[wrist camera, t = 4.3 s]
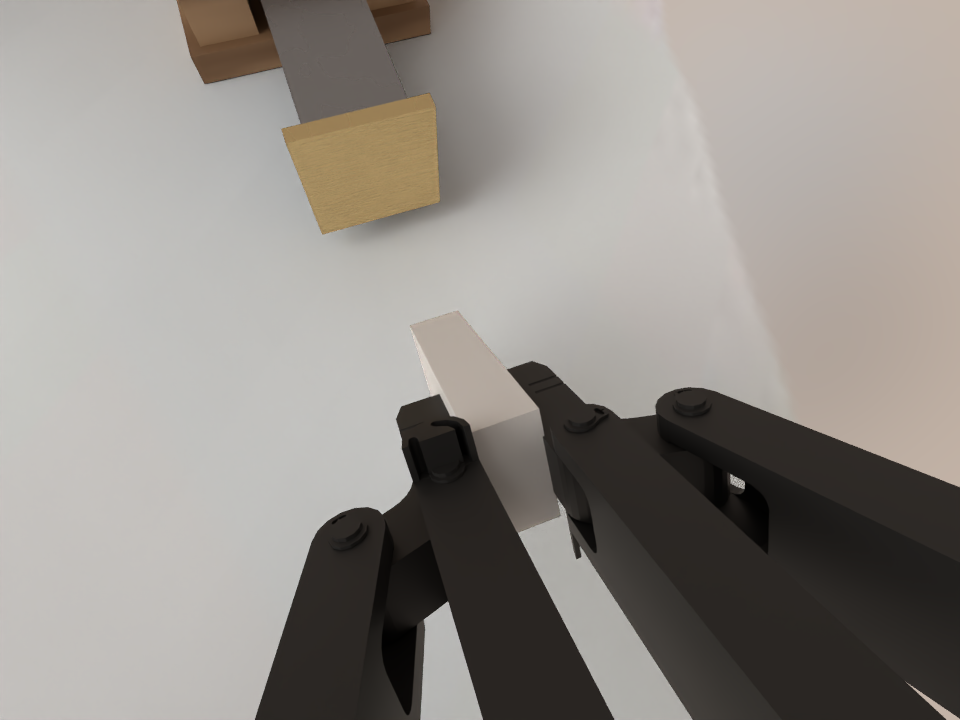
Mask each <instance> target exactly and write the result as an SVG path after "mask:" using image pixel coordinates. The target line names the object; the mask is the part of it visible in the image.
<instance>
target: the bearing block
mask: <svg viewBox="0 0 960 720" xmlns="http://www.w3.org/2000/svg"><path fill="white" fill-rule="evenodd" d="M366 1H367V4H368V6H369V8H370V11H371V13H372V15H373V18H374V20H375V23H376V25H377V27H378V30H379V32H380V34H381V37H382V39H383V42H384V44H386V43H390V42H394V41H399V40H403V39H408V38H412V37H417V36H421V35H426V34H430V33H431V29H430V8H429V4H428V2H427V0H366ZM177 3H178V7H179V11H180V15H181V20H182V24H183V28H184V32H185V36H186V40H187V44H188V48H189V52H190V56H191V58H192V60H193V62H194V64H195V66H196V68H197V70H198V72H199V74H200V76H201V78H202V80H203V82H204V83H205V84H206V83H211V82H215V81H220V80H224V79H229V78H233V77H238V76H242V75H247V74H251V73H256V72H260V71H265V70H269V69H274V68H278V67H282V64H281V61H280V58H279V55H278V52H277V49H276V46H275V43H274V40H273V37H272V33H271V30H270V27H269V24H268V21H267V18H266V15H265V12H264V9H263V6H262V3H261V0H177Z"/></svg>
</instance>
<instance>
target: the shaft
mask: <svg viewBox="0 0 960 720" xmlns="http://www.w3.org/2000/svg"><path fill="white" fill-rule="evenodd" d="M261 3H262V6H263V9H264V12H265V15H266V18H267V21H268V24H269V27H270V30H271V33H272V37H273V40H274V43H275V46H276V49H277V52H278V55H279V58H280V61H281V64H282V67H283V70H284V73H285V76H286V80H287V83H288V86H289V89H290V92H291V95H292V98H293V101H294V104H295V107H296V110H297V113H298V116H299V120H300V123H301V124H299V125H295V126H291V127H287V128H283V129H282V133H283V136H284V139H285V142H286V145H287V148H288V150H289V153H290V155H291V158H292V160H293V163H294V165H295V167H296V170H297V172H298V175H299V177H300V180H301V182H302V185H303V187H304V190H305V192H306V195H307V197H308V200H309V202H310V205H311V207H312V210H313V212H314V215H315V217H316V220H317V222H318V225H319V227H320V230H321V232H322V234H326V233H330V232H333V231H337V230H341V229H344V228H348V227H351V226H355V225H359V224H362V223H366V222H369V221H373V220H377V219H380V218H384V217H387V216H391V215H395V214H398V213H402V212H405V211H409V210H413V209H416V208H420V207H423V206H427V205H431V204H434V203H438V202H440V194H439V172H438V149H437V127H436V106H435V104H434V102H433V99H432V97H431V95H430V93H427V94H423V95H419V96H415V97H411V98H407V96H406V94H405V91H404V89H403V87H402V84H401V82H400V80H399V77H398V75H397V72H396V70H395V68H394V65H393V63H392V61H391V58H390V56H389V53H388V51H387V49H386V46H385V44H384V42H383V39H382V37H381V34H380V32H379V30H378V27H377V25H376V23H375V20H374V18H373V15H372V13H371V11H370V8H369V6H368V4H367V1H366V0H261Z"/></svg>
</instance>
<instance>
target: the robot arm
mask: <svg viewBox="0 0 960 720" xmlns="http://www.w3.org/2000/svg"><path fill="white" fill-rule="evenodd" d="M410 328H411V331H412V335H413V338H414V341H415V345H416V348H417V351H418V355H419V358H420V361H421V365H422V368H423V371H424V375H425V378H426V381H427V385H428V388H429V391H430V395H431V397H428V398H425V399H422V400H419V401H417V402H414V403H411V404H408V405H405V406H402V407H401V409H400V411H399V413H398V416H397V418H396V420H397V424H398V427H399V431H400V434H401V437H402V451H403V454H404V457H405V459H406V462H407V465H408V468H409V471H410V474H411V477H412V480H413V483H412V487H411V489H410V491H409V492H408V494H407V496H406V497H405V498H404V499H403V500H402V501H401V502H400V503H398V504H397V505H396V506H394V507H393V508H392V509H390V510H389V511H387V512H385V513H384V514H381V513H380V512H379V511H378V510H375V509H372V508H368V507H365V508H354V509H351V510H348V511H345V512H342V513H340V514H338V515H337V516H335V517H333V518H332V519H330V520H328V521H327V522H326V523H325V524H324V525H323V526H322V527H321V528H320V529H319V530H318V531H317V533H316V535H315V537H314V539H313V541H312V543H311V546H310V549H309V552H308V555H307V559H306V562H305V565H304V568H303V571H302V574H301V577H300V580H299V583H298V587H297V590H296V593H295V596H294V599H293V602H292V605H291V608H290V612H289V615H288V618H287V621H286V624H285V627H284V630H283V633H282V637H281V640H280V643H279V646H278V649H277V652H276V655H275V658H274V661H273V665H272V668H271V671H270V674H269V677H268V680H267V683H266V686H265V690H264V693H263V696H262V699H261V702H260V705H259V708H258V711H257V715H256V718H255V720H420V715H421V696H422V677H423V657H424V638H425V625H424V619H425V618H426V617H428V616H429V615H430V614H432V613H433V612H434V611H436V610H437V609H438V608H439V607H441V606H442V605H443V604H445V603H446V602H447V601H448V602H449V605H450V608H451V612H452V615H453V619H454V622H455V625H456V629H457V632H458V636H459V639H460V642H461V646H462V649H463V653H464V656H465V659H466V663H467V666H468V670H469V673H470V676H471V680H472V683H473V687H474V690H475V693H476V697H477V700H478V704H479V707H480V710H481V714H482V717H483V720H614V718H613V716H612V714H611V712H610V710H609V708H608V706H607V705H606V703H605V701H604V699H603V697H602V695H601V693H600V691H599V689H598V687H597V685H596V683H595V681H594V680H593V678H592V676H591V674H590V672H589V670H588V668H587V666H586V664H585V662H584V660H583V658H582V656H581V654H580V653H579V651H578V649H577V647H576V645H575V643H574V641H573V639H572V637H571V635H570V633H569V631H568V629H567V628H566V626H565V624H564V622H563V620H562V618H561V616H560V614H559V612H558V610H557V608H556V606H555V604H554V603H553V601H552V599H551V597H550V595H549V593H548V591H547V589H546V587H545V585H544V583H543V581H542V579H541V577H540V576H539V574H538V572H537V570H536V568H535V566H534V564H533V562H532V560H531V558H530V556H529V554H528V552H527V551H526V549H525V547H524V545H523V543H522V541H521V539H520V537H519V535H518V532H521V531H523V530H526V529H528V528H531V527H533V526H536V525H539V524H541V523H544V522H546V521H549V520H551V519H554V518H557V517H559V516H561V515H560V510H559V505H558V500H557V498H558V499H559V501H560V502H561V503H562V505H563V506H564V508H565V509H566V513H567V518H568V524H569V529H570V534H571V539H572V544H573V549H574V553H575V556H576V559H578V558H580V557H581V552H580V546H581V548H582V549H583V551H584V552H585V554H586V555H587V557H588V559H589V560H590V562H591V563H592V565H593V566H594V568H595V569H596V571H597V572H598V574H599V576H600V577H601V579H602V580H603V582H604V583H605V585H606V586H607V588H608V589H609V591H610V592H611V594H612V596H613V597H614V599H615V600H616V602H617V603H618V605H619V606H620V608H621V609H622V611H623V613H624V614H625V616H626V617H627V619H628V620H629V622H630V623H631V625H632V626H633V628H634V630H635V631H636V633H637V634H638V636H639V637H640V639H641V640H642V642H643V643H644V645H645V647H646V648H647V650H648V651H649V653H650V654H651V656H652V657H653V659H654V660H655V662H656V663H657V665H658V667H659V668H660V670H661V671H662V673H663V674H664V676H665V677H666V679H667V680H668V682H669V684H670V685H671V687H672V688H673V690H674V691H675V693H676V694H677V696H678V697H679V699H680V701H681V702H682V704H683V705H684V707H685V708H686V710H687V711H688V713H689V714H690V716H691V718H692V719H693V720H946V719H945V718H944V717H943V716H942V715H941V714H940V713H939V712H938V711H936V710H935V709H934V708H933V707H932V706H931V705H930V704H929V703H928V702H927V701H925V699H923V698H922V697H921V696H920V695H919V694H918V693H917V692H916V691H915V690H914V689H913V688H912V687H910V686H909V685H908V684H910V685H911V686H913V687H914V688H916V689H917V690H919V691H920V692H922V693H923V694H925V695H926V696H928V697H929V698H930V699H932V700H933V701H935V702H937V703H938V704H940V705H941V706H942V707H944V708H945V709H947V710H948V711H950V712H951V713H952V714H954V715H956V716H957V717H958V718H960V487H957V486H955V485H952V484H949V483H947V482H945V481H942V480H940V479H937V478H934V477H931V476H929V475H927V474H924V473H922V472H919V471H917V470H914V469H911V468H909V467H906V466H904V465H901V464H899V463H896V462H894V461H891V460H888V459H886V458H883V457H881V456H878V455H876V454H873V453H871V452H868V451H866V450H863V449H861V448H858V447H855V446H853V445H850V444H848V443H845V442H843V441H840V440H838V439H835V438H832V437H830V436H827V435H825V434H822V433H819V432H817V431H814V430H812V429H810V428H807V427H804V426H802V425H799V424H797V423H794V422H792V421H789V420H787V419H784V418H782V417H779V416H776V415H774V414H771V413H769V412H766V411H764V410H761V409H759V408H756V407H753V406H751V405H748V404H746V403H743V402H741V401H738V400H736V399H733V398H731V397H728V396H725V395H723V394H720V393H718V392H715V391H712V390H708V389H704V388H691V387H688V388H683V389H682V388H681V389H676V390H673V391H671V392H668V393H666V394H664V395H663V396H662V397H661V398H659V399H658V401H657V404H656V415H651V416H644V417H638V418H628V419H620V418H619V417H618V416H617V415H616V414H615V413H614V412H613V411H611V410H609V409H608V408H606V407H604V406H600V405H595V404H585V403H584V402H583V401H582V400H581V399H580V398H579V397H578V396H577V395H576V394H575V393H574V392H573V391H572V390H571V389H570V388H569V387H568V386H567V385H566V384H564V383H563V381H562V380H561V379H560V378H559V377H556V374H554V373H553V372H552V371H551V370H550V369H549V368H548V367H547V366H545V365H542V364H539V363H536V362H533V361H531V362H528V363H525V364H522V365H519V366H516V367H513V368H510V369H506V368H505V367H504V366H503V365H502V363H501V362H500V361H499V360H498V359H497V357H496V356H495V355H494V354H493V353H492V351H491V350H490V349H489V348H488V347H487V345H486V344H485V343H484V342H483V340H482V339H481V338H480V337H479V336H478V334H477V333H476V332H475V331H474V330H473V328H472V327H471V326H470V325H469V324H468V322H467V321H466V320H465V319H464V318H463V316H462V315H461V314H460V313H459V312H458V311H455V312H451V313H448V314H445V315H442V316H439V317H435V318H432V319H429V320H426V321H423V322H419V323H416V324H413V325H410ZM730 474H732V475H734V476H735V477H737V478H739V479H741V480H743V481H745V489H741V488H738V487H736V486H734V485H732V484H731V483H730ZM905 681H906V682H907V683H908V684H907V683H906V682H905Z"/></svg>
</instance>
